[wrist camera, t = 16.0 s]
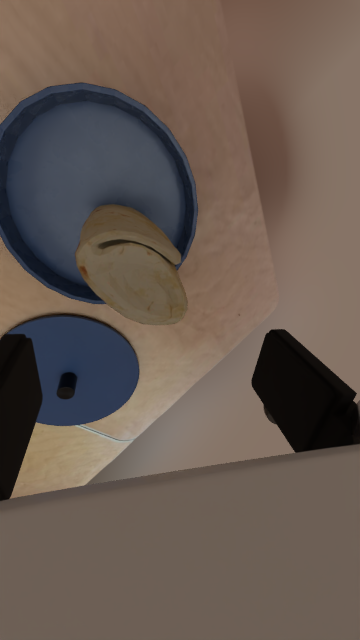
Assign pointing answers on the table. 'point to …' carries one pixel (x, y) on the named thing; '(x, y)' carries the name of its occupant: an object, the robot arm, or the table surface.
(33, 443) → the table surface
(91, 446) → the table surface
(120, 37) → the table surface
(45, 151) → the pot
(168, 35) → the table surface
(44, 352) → the pot lid
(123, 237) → the food model
